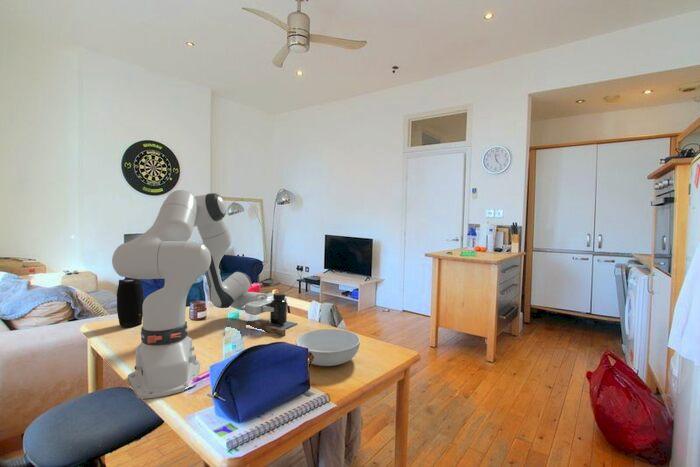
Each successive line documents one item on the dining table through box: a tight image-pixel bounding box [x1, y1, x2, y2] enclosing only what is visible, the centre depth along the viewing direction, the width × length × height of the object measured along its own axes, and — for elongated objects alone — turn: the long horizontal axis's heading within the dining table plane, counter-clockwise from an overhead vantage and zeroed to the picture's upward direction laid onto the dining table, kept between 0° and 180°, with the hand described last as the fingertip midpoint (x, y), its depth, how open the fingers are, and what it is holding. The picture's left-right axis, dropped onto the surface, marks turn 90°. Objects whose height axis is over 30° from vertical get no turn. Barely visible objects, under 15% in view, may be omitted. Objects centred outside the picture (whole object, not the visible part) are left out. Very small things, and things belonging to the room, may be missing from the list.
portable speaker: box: [116, 277, 145, 329], centre depth 143 cm, size 9×9×20 cm
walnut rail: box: [245, 320, 286, 338], centre depth 137 cm, size 20×2×2 cm, turn 60°
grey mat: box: [264, 320, 298, 331], centre depth 145 cm, size 11×11×1 cm
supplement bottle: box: [269, 292, 288, 324], centre depth 144 cm, size 7×7×12 cm
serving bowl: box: [295, 328, 361, 367], centre depth 111 cm, size 21×21×7 cm
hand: (280, 307), depth 144 cm, fingers closed on supplement bottle, 7 cm apart
